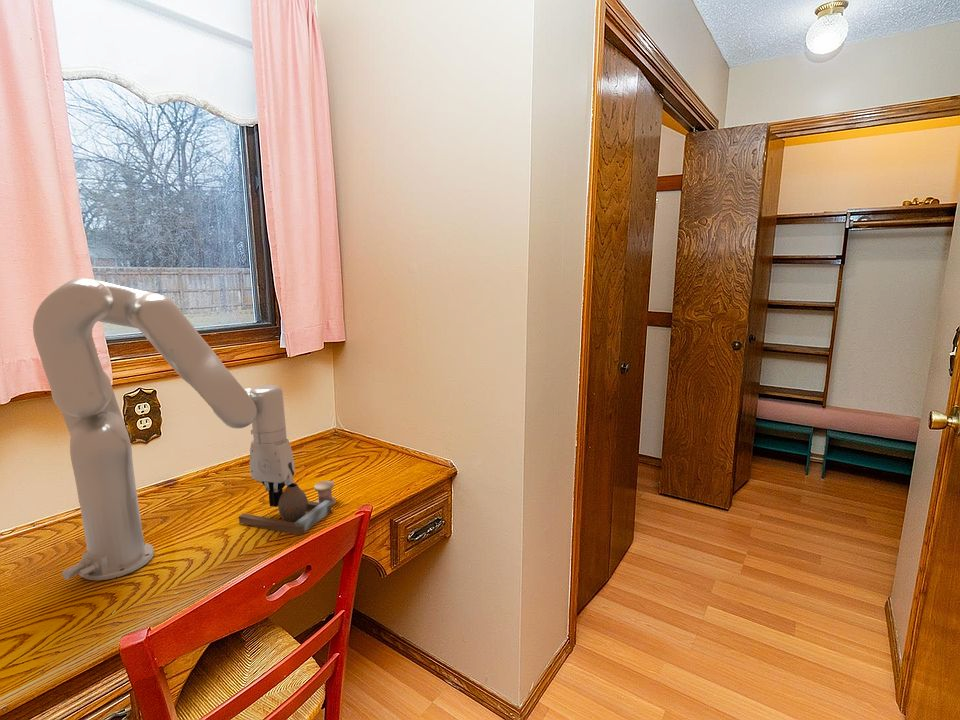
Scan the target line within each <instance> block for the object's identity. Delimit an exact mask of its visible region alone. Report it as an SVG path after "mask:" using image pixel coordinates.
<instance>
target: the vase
mask: <svg viewBox="0 0 960 720" xmlns="http://www.w3.org/2000/svg"><path fill="white" fill-rule="evenodd" d="M308 501H309V499H308V497H307V495H306V492H304V490H302V489H301V487H300V486H299V485H298V483H295V482H294V483H293V484H291V485H288V486H286V488H285V490H283V493H282V495H281V496H280V499H279V502H278V506H277V507H278V509H277V510H278V513H279V515H280V516H281V518H282V520H284V521H288V522H296V521H298V520H299V519H300V518H302V517H303V516H304V515H306V514H307V512H308V511H307V507H308Z"/></svg>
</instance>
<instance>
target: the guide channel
mask: <svg viewBox="0 0 960 720" xmlns="http://www.w3.org/2000/svg"><path fill="white" fill-rule="evenodd" d="M268 503H269V505H270V502H269V501H268ZM331 512H332V506H331V504H330V501H328V500H325V501H323V502H322V503H318V502H316V501H312V500H311V501H310V500H308V507H307V511H306V513H305V515H304V516H303V517H302V518H300V519H299V520H297V521H292V522H291V521H286V520H284V519H282V520H281V519H277V518H271V517H270V518H269V517H265V516H259V515H253V514H248V513H242V514H240V515H238V521H239V522H238V523H243V524H247V525H246V526H248V525H252V526H251V527H254V526H257V527H256V528H259V527H261V528H260V529H265V528H266V530H270V531H276V532H282V533H286V534H292V535H297V536H302V535H304V534H305V533H306V532H307V531H308V530H309V529H311V528H312V527H314V525H316V524H317V523H318V522H320V521H322V519H323V518H325V517H326V516H328V515H329V514H330V513H331ZM243 524H242V525H243Z"/></svg>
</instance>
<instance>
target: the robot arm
mask: <svg viewBox="0 0 960 720" xmlns="http://www.w3.org/2000/svg"><path fill="white" fill-rule="evenodd" d="M98 322H102V323H106V324H110V325H111V324H112V325H116V326H123V327H128V328H133V329H138V330H139V332H141V334H142V335H143V337H145V338H146V340H147V341H148V342H149V343H150V344H151V345H152V347H154V349H156V351H157V352H158V353H159V354H160V355H161V357H162V358H163V359H164V360H165V361H166V362H167V363H168V365H169V366H170V367H171V369H173V370H174V371H175V372H176V374H177V375H178V376H179V377H180V378H181V379H182V380H183V381H185V382H186V383H187V384H188V385H190V387H192V389H194V391H196V393H198V395H200V397H201V398H202V399H203V400H204V401H205V402H206V403H207V404H208V406H209V407H210V408H211V409H212V411H213V414H214V415H215V416H216V417H218V418H219V419H220V420H221V422H223V424H224V425H225V426H227V427H228V428H232V429H238V430H239V429H244V428H247V427H249V426H250V425H251V427H252V428H251V430H250V434H251V435H253V440H252V441H250V449H249V472H250V477H251V478H252V479H253V480H255V481H256V482H259V483H260V484H263V486H264V488H265V490H266V491H267V492H268V503H269V502H270V504H269V507H274V508H277V507H278V502H279V499H280V496H281V495H282V493H283V492H284V490H283V489H284V488H285V487H287V486H288V485H291V484H293V483H295V480H294V475H295V461H294V455H293V450H292V447H291V443H290V440H289V439H288V437H287V436H288V435H287V428H286V425H287V424H286V417H285V414H286V413H285V405H284V404H285V403H284V394H283V393H284V392H283V390H282V388H281V387H280V385H279V386H278V385H276V384H264V385H258V386H256V387H255V386H254V387H248V388H246V387H245V388H243V386H242V385H241V384H240V383H239V382H238V380H237V379H236V378H235V376H234V375H233V374H232V373H231V372H230V371H229V369H228V368H227V367H226V365H225V364H224V363H223V361H221V359H220V358H219V356H218V355H217V354H216V353H215V351H214V350H213V349H212V348H211V346H210V345H209V344H208V342H207V341H206V340H205V339H204V338H203V337H202V336H201V334H200V333H199V331H198V330H196V328H195V327H194V326H193V324H192V323H191V322H190V320H189V319H188V318H187V317H186V316H185V315H184V313H183V312H182V311H181V309H180V308H179V307H178V306H177V304H176V303H175V302H174V301H173V300H171V299H170V298H169V297H168V296H166V295H163V294H160V293H156V292H151V291H145V290H140V289H135V288H130V287H127V286H121V285H118V284H114V283H109V282H106V281H102V280H97V279H93V278H89V277H88V278H87V277H79V278H74V279H70V280H69V281H67V282H65V283H64V284H61V286H59V287H57V288H56V289H55V290H53V291H52V292H51V293H50V294H49V295H47V296H46V297H45V298H44V299H43V300H42V302H41V303H40V305H39V306H38V308H37V310H36V312H35V315H34V319H33V323H32V324H33V325H32V333H33V339H34V343H35V346H36V348H37V352H38V354H39V355H38V356H39V358H40V361H41V364H42V368H43V371H44V373H45V376H46V379H47V382H48V384H49V388H50V391H51V397H52V398H51V399H52V401H53V402H54V405H55V406H56V408H58V409H59V410H60V412H61V414H62V417H63V420H64V423H65V425H66V428H67V430H68V433H69V436H70V439H69V455H70V461H71V465H72V470H73V475H74V481H75V485H76V491H77V495H78V496H77V497H78V502H79V507H80V508H79V509H80V513H81V519H82V520H81V521H82V525H83V526H82V527H83V531H84V538H85V545H86V549H87V551H85V552H84V553H82V554H81V557H82V559H80V560H79V561H78V563H77V564H75V565H72V566H69V567H68V568H66V569H64V570H62V572H61V576H62V577H63V579H64V580H67V581H68V580H70V579H72V578H73V577H75V576H77V575H78V576H79V577H80V578H84V579H85V580H87V581H88V580H89V581H105V580H106V581H107V580H112V579H116V577H117V578H120V577H123V576H126V575H128V574H131V573H133V572H135V571H136V570H139V569H141V568H143V567H144V566H145V565H146V564H148V563H149V562H150V561H151V560H152V559H153V557H154V554H155V549H154V547H153V545H152V544H149V543H147V542H145V541H144V534H143V528H142V527H143V526H142V521H141V520H142V519H141V518H142V517H141V511H140V507H139V505H140V504H139V497H138V492H137V486H136V480H135V479H136V478H135V471H134V464H133V463H134V461H133V451H132V443H131V439H130V435H129V431H128V429H127V427H126V424H125V421H124V417H123V415H122V412H121V410H120V407H119V403H118V401H117V398H116V394H115V391H114V388H113V385H112V383H111V379H110V378H109V375H108V373H106V372H105V371H104V368H103V366H102V364H101V363H102V362H101V360H100V358H99V355H98V350H97V348H96V343H95V341H94V337H93V328H94V326H95V325H96V323H98Z"/></svg>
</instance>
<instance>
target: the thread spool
mask: <svg viewBox="0 0 960 720" xmlns="http://www.w3.org/2000/svg"><path fill="white" fill-rule="evenodd" d="M333 488H335V482H334V481H333V480H321V481H318V482H316V483H315V484H314V489H313V490H314V491H315V492H317V496H318V499H316V501H315V502H318V503H322V502H323V501H325V500H328V501H330V504H331V507H333V506H334V505H335V504H336V497H334V496H333V495H332V489H333Z"/></svg>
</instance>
